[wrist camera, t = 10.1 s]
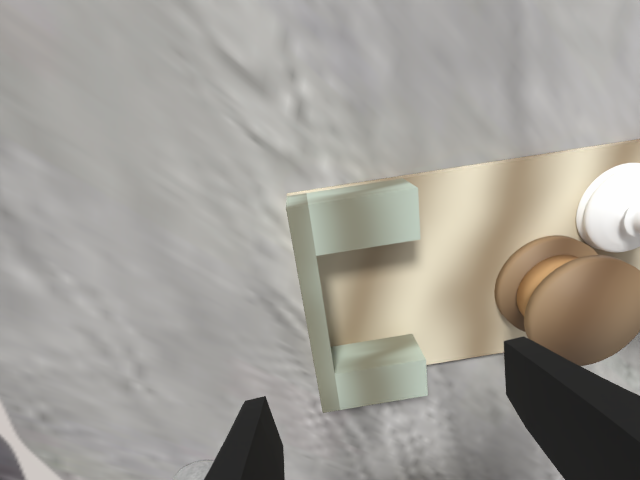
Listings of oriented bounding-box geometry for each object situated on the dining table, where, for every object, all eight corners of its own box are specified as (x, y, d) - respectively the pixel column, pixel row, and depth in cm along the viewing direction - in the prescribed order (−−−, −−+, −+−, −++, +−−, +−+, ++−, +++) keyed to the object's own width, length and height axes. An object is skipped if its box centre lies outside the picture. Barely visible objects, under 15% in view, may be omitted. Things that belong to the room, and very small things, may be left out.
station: (693, 130, 19) (796, 136, 15) (653, 321, 24) (725, 363, 20) (287, 193, 19) (285, 215, 15) (319, 375, 23) (324, 430, 19)
